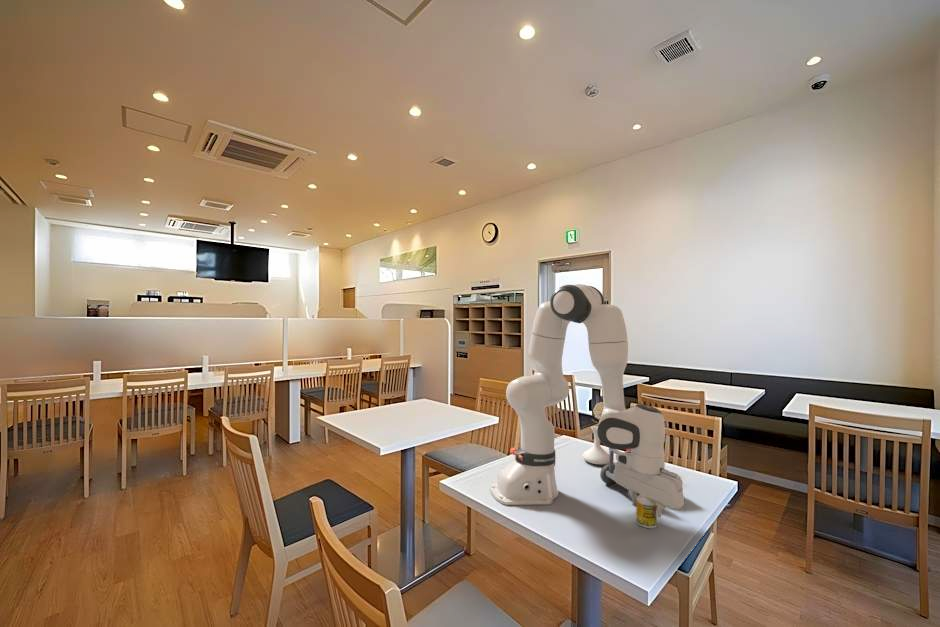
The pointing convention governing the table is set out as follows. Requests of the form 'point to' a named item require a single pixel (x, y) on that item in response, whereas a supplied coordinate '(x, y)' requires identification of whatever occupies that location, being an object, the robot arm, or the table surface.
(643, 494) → the supplement bottle
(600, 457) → the flower in vase
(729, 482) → the table surface
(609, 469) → the trolley
